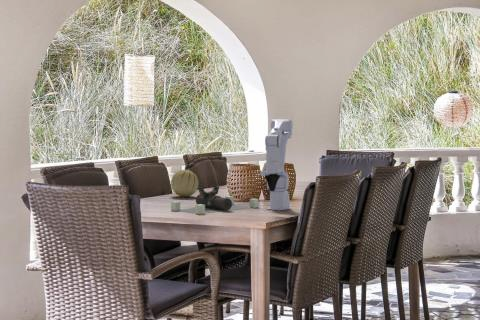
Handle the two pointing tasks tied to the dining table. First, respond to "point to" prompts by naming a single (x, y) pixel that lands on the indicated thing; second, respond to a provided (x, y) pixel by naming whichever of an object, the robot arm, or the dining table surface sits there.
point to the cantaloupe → (184, 183)
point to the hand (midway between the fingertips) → (272, 190)
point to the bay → (202, 210)
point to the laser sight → (213, 199)
